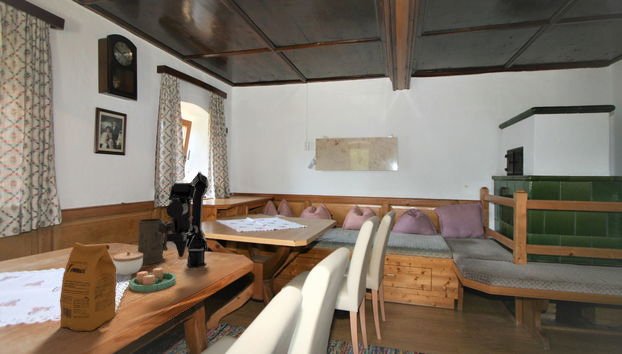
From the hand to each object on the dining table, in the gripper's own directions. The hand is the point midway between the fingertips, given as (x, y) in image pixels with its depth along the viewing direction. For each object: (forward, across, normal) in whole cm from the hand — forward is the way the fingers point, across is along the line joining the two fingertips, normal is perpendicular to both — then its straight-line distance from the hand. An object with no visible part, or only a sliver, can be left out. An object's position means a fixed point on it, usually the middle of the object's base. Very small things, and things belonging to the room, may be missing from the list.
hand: (182, 255), depth 117 cm
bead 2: (+10, +7, -9) cm, 15 cm away
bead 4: (+1, 0, 0) cm, 1 cm away
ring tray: (+10, +3, -9) cm, 14 cm away
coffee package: (+11, +31, -15) cm, 36 cm away
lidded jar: (+10, -11, -25) cm, 29 cm away
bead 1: (+9, +3, -13) cm, 17 cm away
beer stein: (+10, -31, -23) cm, 40 cm away
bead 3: (+9, -1, -9) cm, 13 cm away
